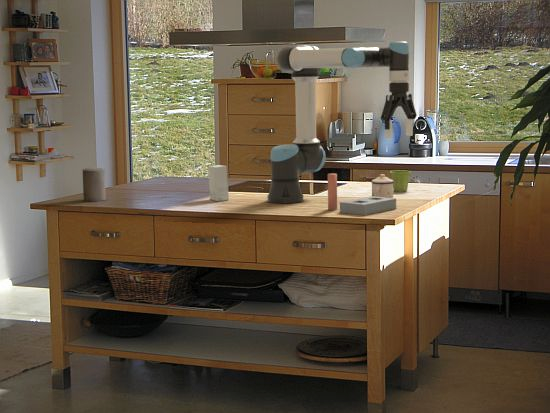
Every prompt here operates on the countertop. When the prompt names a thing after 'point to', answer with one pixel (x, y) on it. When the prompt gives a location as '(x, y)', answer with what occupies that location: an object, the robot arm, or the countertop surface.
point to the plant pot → (400, 180)
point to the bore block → (367, 205)
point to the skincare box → (218, 183)
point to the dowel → (332, 191)
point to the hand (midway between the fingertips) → (399, 136)
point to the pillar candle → (94, 184)
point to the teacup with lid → (382, 187)
